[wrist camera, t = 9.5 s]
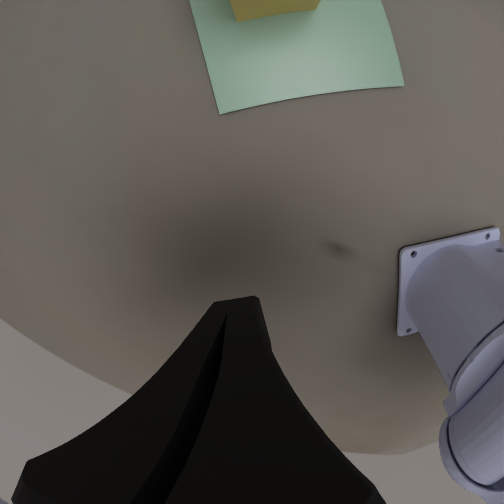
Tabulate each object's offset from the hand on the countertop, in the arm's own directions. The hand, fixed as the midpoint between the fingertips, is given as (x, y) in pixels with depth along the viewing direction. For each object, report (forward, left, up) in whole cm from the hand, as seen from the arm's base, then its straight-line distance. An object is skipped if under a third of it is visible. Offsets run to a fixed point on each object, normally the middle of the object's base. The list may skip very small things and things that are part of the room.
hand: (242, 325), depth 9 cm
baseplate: (-5, -12, -10) cm, 17 cm away
